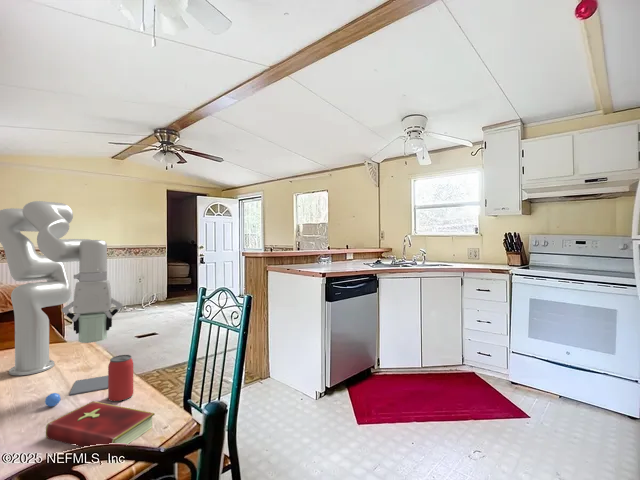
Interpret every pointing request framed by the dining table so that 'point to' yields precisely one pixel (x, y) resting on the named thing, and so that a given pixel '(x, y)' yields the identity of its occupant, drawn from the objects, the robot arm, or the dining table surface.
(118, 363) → the beer can
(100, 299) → the robot arm
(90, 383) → the slate mat
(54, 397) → the marble
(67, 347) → the dining table surface
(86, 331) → the mint green domed cylinder
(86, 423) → the hardcover book
